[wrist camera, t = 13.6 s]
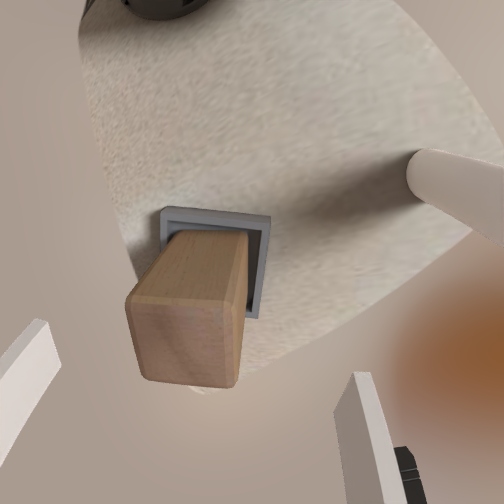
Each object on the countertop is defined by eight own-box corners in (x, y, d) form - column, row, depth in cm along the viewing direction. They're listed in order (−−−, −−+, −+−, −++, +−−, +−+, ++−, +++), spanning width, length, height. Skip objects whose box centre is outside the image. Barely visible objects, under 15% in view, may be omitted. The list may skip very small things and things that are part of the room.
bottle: (397, 158, 39) (565, 223, 11) (439, 140, 37) (608, 184, 9) (414, 208, 41) (558, 318, 14) (453, 189, 40) (603, 272, 12)
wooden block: (182, 289, 47) (139, 382, 28) (177, 227, 43) (118, 300, 25) (248, 292, 46) (237, 393, 28) (248, 228, 43) (235, 307, 24)
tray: (168, 205, 43) (160, 212, 40) (270, 216, 43) (270, 223, 40) (167, 294, 48) (161, 306, 45) (258, 306, 48) (257, 318, 45)
